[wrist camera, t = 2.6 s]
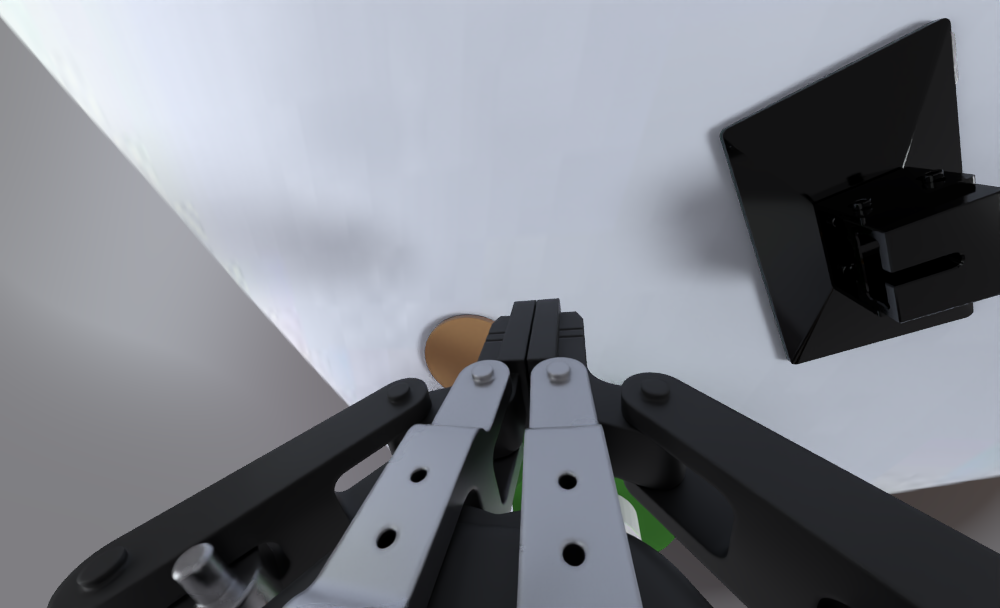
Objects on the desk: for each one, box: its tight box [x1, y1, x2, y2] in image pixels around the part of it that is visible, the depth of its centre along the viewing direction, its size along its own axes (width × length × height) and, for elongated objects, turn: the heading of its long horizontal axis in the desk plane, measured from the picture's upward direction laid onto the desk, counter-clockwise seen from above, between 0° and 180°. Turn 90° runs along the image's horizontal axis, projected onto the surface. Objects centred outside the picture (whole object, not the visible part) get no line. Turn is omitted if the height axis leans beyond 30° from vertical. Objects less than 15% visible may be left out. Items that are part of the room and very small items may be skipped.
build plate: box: [720, 18, 1000, 364], centre depth 13 cm, size 12×7×5 cm, turn 30°
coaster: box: [425, 315, 495, 388], centre depth 21 cm, size 6×6×1 cm
